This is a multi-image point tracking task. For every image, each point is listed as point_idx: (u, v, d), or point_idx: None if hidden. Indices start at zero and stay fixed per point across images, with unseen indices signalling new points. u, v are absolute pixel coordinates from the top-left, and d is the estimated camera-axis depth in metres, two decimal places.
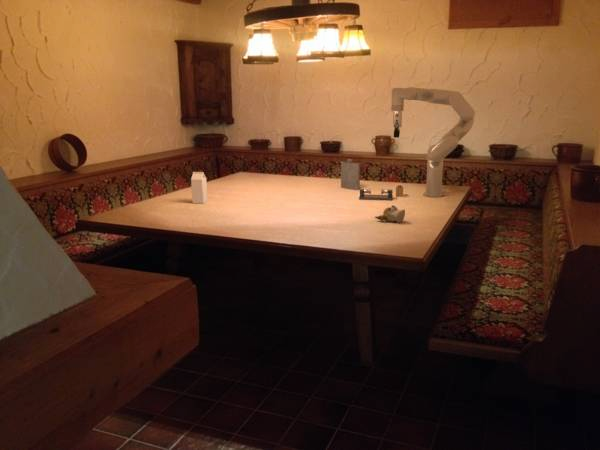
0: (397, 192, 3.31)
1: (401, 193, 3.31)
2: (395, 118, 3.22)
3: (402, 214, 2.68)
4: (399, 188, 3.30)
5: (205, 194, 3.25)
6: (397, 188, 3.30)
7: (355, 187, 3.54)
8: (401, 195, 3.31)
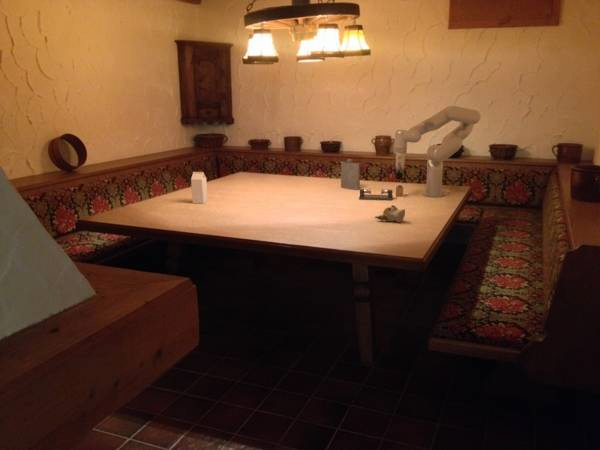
0: (397, 192, 3.31)
1: (401, 193, 3.31)
2: (398, 160, 3.23)
3: (402, 214, 2.69)
4: (399, 188, 3.30)
5: (205, 194, 3.25)
6: (397, 188, 3.30)
7: (355, 187, 3.54)
8: (401, 195, 3.31)
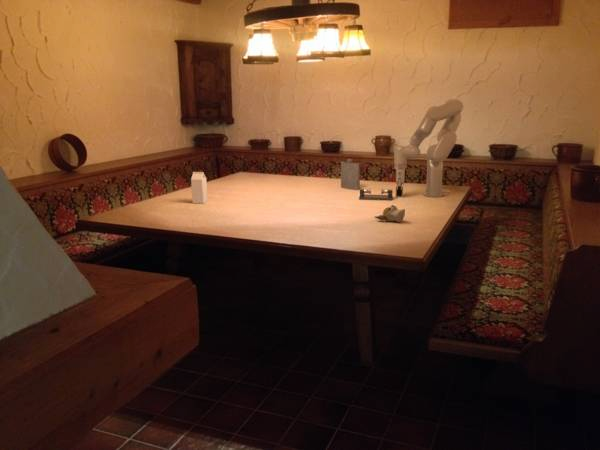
0: None
1: None
2: (398, 176, 3.25)
3: (402, 214, 2.69)
4: None
5: (205, 194, 3.25)
6: None
7: (355, 187, 3.54)
8: None
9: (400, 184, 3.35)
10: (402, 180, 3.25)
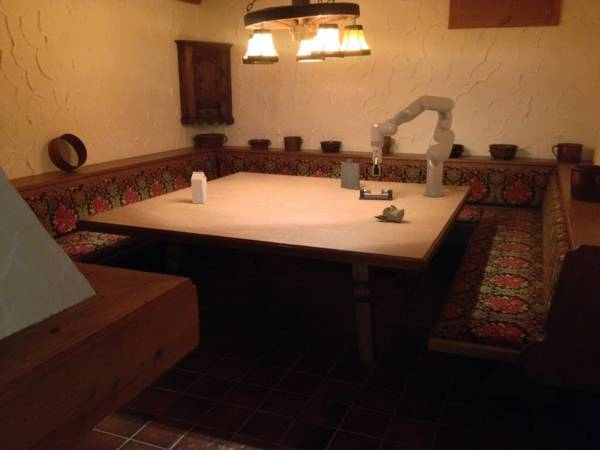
0: None
1: None
2: (374, 154, 3.16)
3: (402, 213, 2.69)
4: None
5: (205, 194, 3.25)
6: None
7: (355, 187, 3.54)
8: None
9: None
10: (379, 158, 3.16)
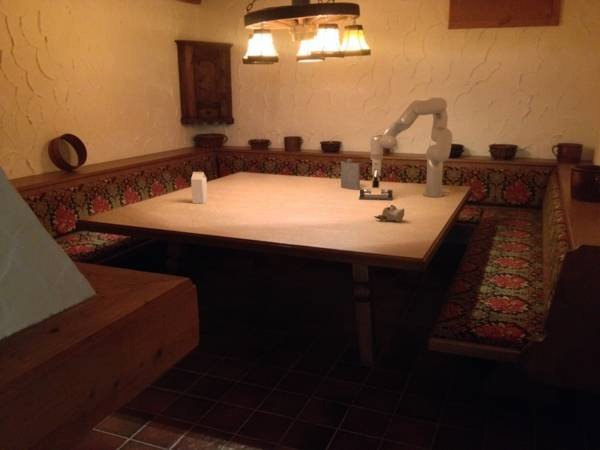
0: None
1: None
2: (374, 167, 3.18)
3: (402, 213, 2.70)
4: None
5: (205, 194, 3.25)
6: None
7: (355, 187, 3.54)
8: None
9: (377, 175, 3.28)
10: (378, 171, 3.18)
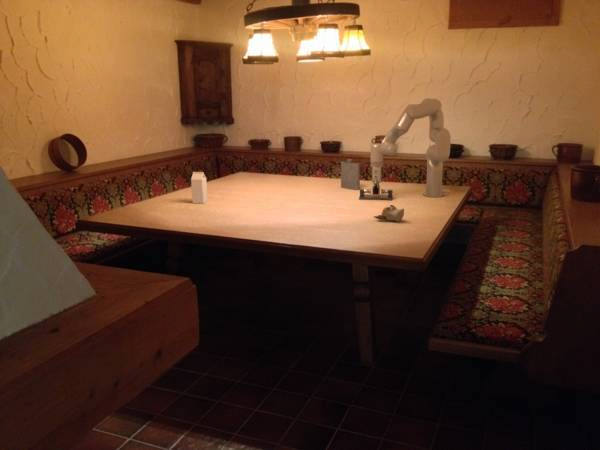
0: None
1: None
2: (374, 174, 3.19)
3: (401, 213, 2.70)
4: None
5: (205, 194, 3.25)
6: None
7: (355, 187, 3.54)
8: (377, 195, 3.25)
9: (377, 181, 3.30)
10: (378, 178, 3.19)
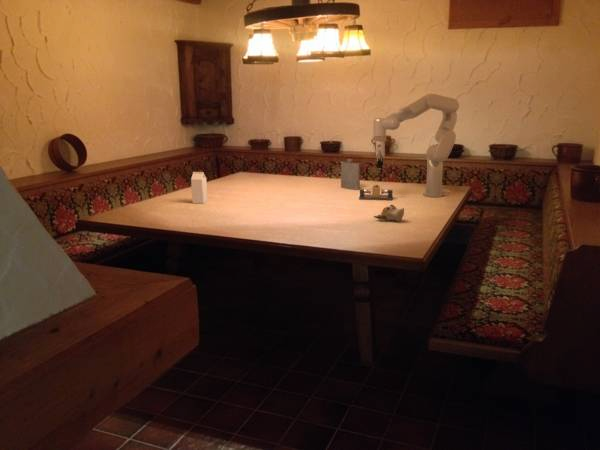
0: (373, 192, 3.25)
1: (377, 193, 3.25)
2: (378, 149, 3.18)
3: (401, 213, 2.71)
4: (375, 188, 3.24)
5: (205, 194, 3.25)
6: (373, 188, 3.24)
7: (355, 187, 3.54)
8: (377, 195, 3.25)
9: None
10: (382, 153, 3.18)
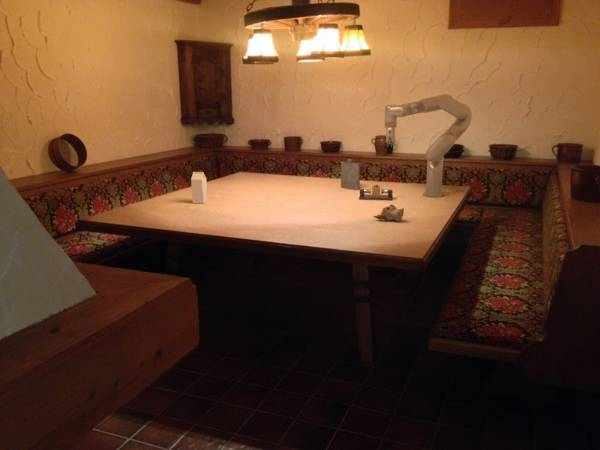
0: (373, 192, 3.25)
1: (377, 193, 3.25)
2: (388, 134, 3.29)
3: (401, 213, 2.71)
4: (375, 188, 3.24)
5: (205, 194, 3.25)
6: (373, 188, 3.24)
7: (355, 187, 3.54)
8: (377, 195, 3.25)
9: None
10: (392, 138, 3.29)
